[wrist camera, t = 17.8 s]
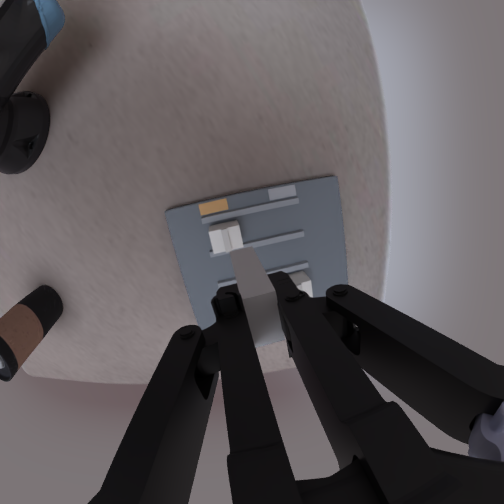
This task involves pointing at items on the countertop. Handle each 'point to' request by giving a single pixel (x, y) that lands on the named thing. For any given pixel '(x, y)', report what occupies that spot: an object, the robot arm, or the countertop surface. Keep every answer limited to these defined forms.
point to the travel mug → (26, 328)
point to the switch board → (262, 238)
